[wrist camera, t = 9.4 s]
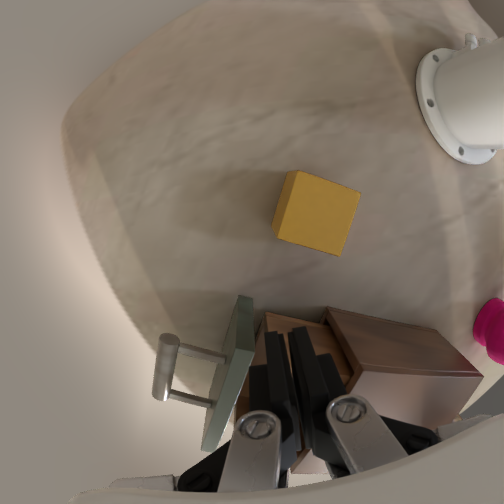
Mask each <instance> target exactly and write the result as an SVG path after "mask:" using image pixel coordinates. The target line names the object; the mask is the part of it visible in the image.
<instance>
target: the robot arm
mask: <svg viewBox="0 0 504 504" xmlns="http://www.w3.org/2000/svg"><path fill="white" fill-rule="evenodd" d="M478 42H479V47H477V42H476V37H475V36H474V35H473V34H470V33H467V34H465V44H466V47H464V48H462V49H460V50H458V51H455V50H453V49H448V48H438V49H435V50H433V51H431V52H429V53H428V54H426V55H425V56H424V57H423V58H422V60H421V61H420V63H419V66H418V68H417V74H416V91H417V96H418V102H419V105H420V108H421V111H422V114H423V117H424V119H425V121H426V123H427V126H428V127H429V129H430V131H431V133H432V134H433V136H434V138H435V139H436V140H437V142H438V143H439V144H440V146H441V147H442V148H443V149H444V150H445V151H446V152H447V153H448V154H449V155H451V156H452V157H453V158H455V159H456V160H458V161H460V162H462V163H465V164H471V165H480V164H483V163H486V162H487V161H489V160H490V159H492V157H493V156H494V155H495V153H496V151H497V149H504V37H502V38H499V39H496V40H494V41H490V40H488V39H486V38H480V39H479V40H478ZM287 334H288V343H289V351H290V359H291V368H292V373H291V368H290V363H289V358H288V354H287V349H286V344H285V339H284V335H283V333H281V334H278V331H271V332H264V338H265V348H266V359H267V364H262V365H255V366H249V413H246V414H245V415H243V416H241V417H240V418H239V419H238V420H237V422H236V424H235V426H234V431H233V435H232V438H231V440H229V441H228V442H227V443H225V444H224V445H223V446H221V447H220V448H219V449H217V450H216V451H214V452H213V453H212V454H210V455H209V456H207V457H206V458H205V459H203V460H202V461H200V462H199V463H198V464H196V465H194V466H193V467H191V468H190V469H188V470H187V471H185V472H184V473H183V474H182V475H181V476H177V477H174V476H173V475H163V476H152V477H137V478H122V479H117V480H115V481H114V482H112V483H111V485H110V486H109V488H101V489H94V490H89V491H85V492H81V493H79V494H77V495H76V496H74V497H73V498H72V499H71V500H70V501H69V502H68V503H67V504H504V413H503V414H500V415H497V416H494V417H493V416H491V415H489V414H480V415H477V416H473V417H470V418H467V419H463V420H460V421H456V422H453V423H449V424H445V425H441V426H437V428H436V429H435V430H430V429H428V428H425V427H421V426H417V425H413V424H410V423H406V422H402V421H399V420H395V419H391V418H388V417H385V416H381V415H378V413H377V412H376V411H375V409H374V408H373V407H372V405H371V404H370V402H369V401H368V400H367V399H365V398H364V397H362V396H360V395H354V394H348V393H347V391H346V389H345V386H344V384H343V382H342V379H341V377H340V374H339V372H338V370H337V367H336V365H335V363H334V360H333V358H332V356H331V354H330V353H326V354H321V355H316V354H315V351H314V348H313V345H312V342H311V339H310V337H309V334H308V331H307V328H306V326H301V327H295V328H292V332H287ZM292 376H293V378H292ZM297 405H298V407H297ZM298 410H299V415H300V420H301V426H302V431H303V436H304V441H305V446H306V449H311V448H312V453H313V456H314V455H315V457H318V458H320V459H322V460H324V461H325V465H326V467H327V469H328V472H329V474H330V476H331V478H332V480H329V481H323V482H319V483H313V484H308V485H302V486H296V487H289V488H288V477H289V468H290V467H291V466H292V465H293V464H294V463H295V462H296V461H297V453H296V451H300V450H302V449H301V438H300V427H299V417H298Z"/></svg>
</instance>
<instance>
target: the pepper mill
mask: <svg viewBox="0 0 504 504" xmlns="http://www.w3.org/2000/svg"><path fill="white" fill-rule="evenodd" d="M473 335H474V338H475V340H476V341H477V342H479V343H480V344H481V345H482V346H486V350H487V354H488V356H489V357H490V358H491V359H492V360H494V361H495V362H497V363H499V364H502V365H504V302H503V301H502V300H500V299H498V298H494V299H492V300H490V301H489V302H487V303H486V304H485V305H484V307H483V308H482V309H481V311H480V312H479V314H478V316H477V318H476V321H475V324H474V328H473Z"/></svg>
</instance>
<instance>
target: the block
mask: <svg viewBox="0 0 504 504" xmlns="http://www.w3.org/2000/svg"><path fill="white" fill-rule="evenodd" d="M360 195H361V193H360V192H358V191H355V190H353V189H350V188H347V187H345V186H342V185H339V184H337V183H334V182H331V181H328V180H326V179H323V178H320V177H317V176H314V175H311V174H308V173H305V172H302V171H299V170H297V171H290V172H287V175H286V178H285V182H284V185H283V188H282V192H281V195H280V198H279V201H278V205H277V208H276V211H275V214H274V218H273V221H272V224H271V227H272V229H273V231H274V233H275V235H276V237H277V238H278V239H281V240H285V241H288V242H292V243H295V244H298V245H302V246H305V247H309V248H312V249H315V250H319V251H322V252H325V253H329V254H332V255H335V256H340V255H341V252H342V250H343V247H344V244H345V241H346V238H347V235H348V232H349V229H350V226H351V223H352V220H353V217H354V214H355V211H356V208H357V205H358V202H359V199H360Z"/></svg>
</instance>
